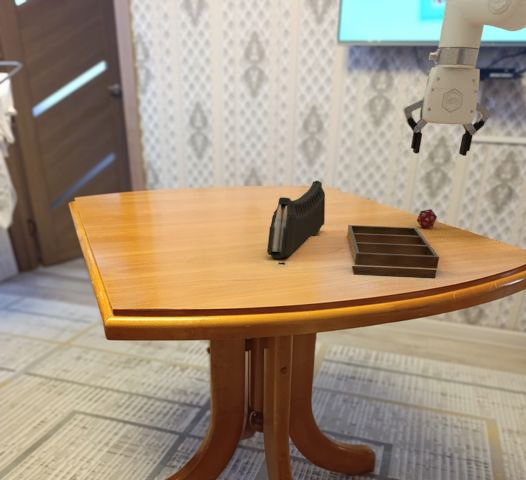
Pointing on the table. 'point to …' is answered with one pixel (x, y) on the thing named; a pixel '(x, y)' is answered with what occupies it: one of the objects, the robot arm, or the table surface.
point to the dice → (426, 218)
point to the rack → (391, 251)
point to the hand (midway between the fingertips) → (439, 153)
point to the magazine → (296, 222)
